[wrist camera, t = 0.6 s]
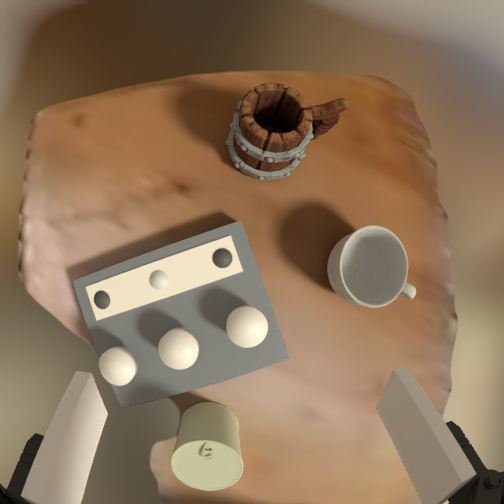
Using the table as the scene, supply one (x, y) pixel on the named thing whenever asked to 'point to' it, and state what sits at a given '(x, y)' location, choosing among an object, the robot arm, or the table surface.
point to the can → (208, 448)
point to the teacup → (370, 268)
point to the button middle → (178, 348)
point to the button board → (180, 312)
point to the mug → (277, 129)
